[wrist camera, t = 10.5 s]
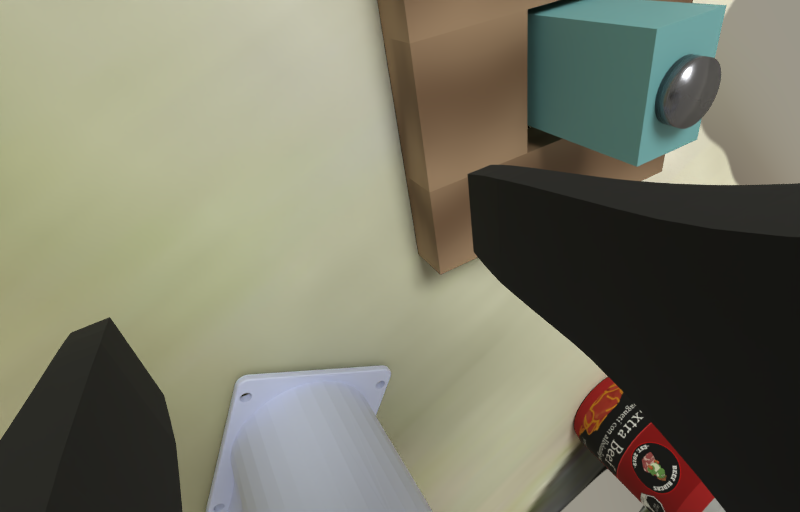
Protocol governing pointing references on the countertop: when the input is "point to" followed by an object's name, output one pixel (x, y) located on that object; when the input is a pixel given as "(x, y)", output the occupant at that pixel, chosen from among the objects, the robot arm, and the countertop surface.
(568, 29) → the post
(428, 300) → the countertop surface
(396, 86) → the slot plate
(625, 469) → the canned food
